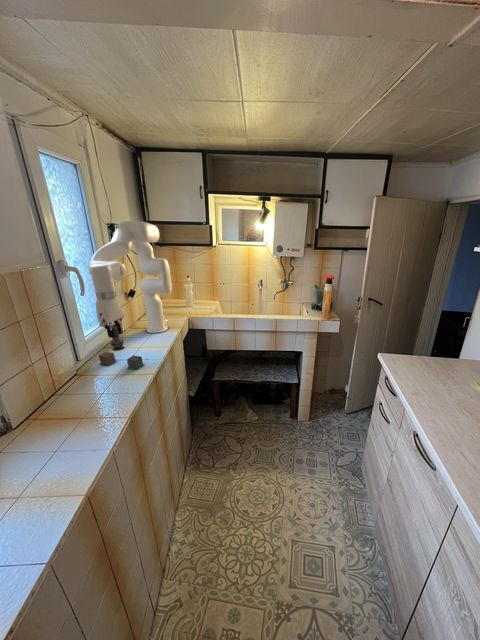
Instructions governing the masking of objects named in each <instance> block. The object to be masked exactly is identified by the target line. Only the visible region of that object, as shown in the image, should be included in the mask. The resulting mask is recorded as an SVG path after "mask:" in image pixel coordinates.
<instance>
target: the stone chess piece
mask: <svg viewBox="0 0 480 640" xmlns="http://www.w3.org/2000/svg"><path fill="white" fill-rule="evenodd" d="M112 329H114V332H115V338H111V340H110V341H109V344H110V346H111V347H112V348H111V351H113V352H119V351H122V350H125V349H126V348H125V346H124V343H125V340H124V339H123V338H121V337H120V334H119V332H118V328H117V326H115V324H114V323H112Z"/></svg>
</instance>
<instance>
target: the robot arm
mask: <svg viewBox="0 0 480 640" xmlns="http://www.w3.org/2000/svg"><path fill="white" fill-rule="evenodd" d="M159 239H160V231H159V228H158V227H157V225H155V224H154V223H153V224H152V223H149V222H145V221H141V220H140V221H138V220H135V221H134V220H126V221H125V220H124V221H121V222H119V223H118V225H117V227H116V228H115V231H114V234H113V236H112V238H111V241H110V242H108V243H106V244H104V245H103V246H101V247H100V248H98V249H97V250H96V251H95V252H94V253H93V255H92V257H91V259H90V262H89V265H88V271H89V274H90V276H91V280H92V285H93V288H94V289H93V290H94V293H95V297H96V299H95V311H96V312H95V313H96V317H97V321H98V323H99V324H98V326H99V327H102V328H104V329H105V330H106V333H107V337H108V338H111V339H112V338H115V332H114V329H112V324H114V325H115V326H117V328H118V332H119V335H122V334H123V330H122V321H123V318H124V316H125V315H124V314H123V311H122V306H121V302H120V300H119V297H118V296H117V290H116V286H115V281H117V280H123V279H124V278H125V277H126V275H127V272H128V271H127V267H126V266H125V264H124V263H123V262H120V261H113V260H117V259H121V258H123V257H126V256H127V255H129V254H130V253H131V251H132V248H133V247H134V249H135V252H136V256H137V261H138V268H139V271H140V273H141V274H142V275H144V276H146V277H143V278H142V279H140V280H139V289H140V292H141V294H142V297H143V302H144V308H145V314H146V321H147V325H148V326H147V327H146V328H145V330H146V332H147V333H151V334H159V333H163V332H166V331H167V330H168V329H169V327H168V325H167V324H166V323H168V322H169V320H168V319H167V318H165V316H164V310H163V308H164V307H163V303H162V299H161V298H160V296H159V295H163V296H165V295H170V294H171V293H172V291H173V284H172V283H173V282H172V276H171V267H170V264H169V261H168V260H167V259H166V258H164V257H155V253H154V248H153V247H152V245H151V244H150V243H157V242H158V241H159ZM147 276H148V277H147ZM149 276H150V277H149ZM153 276H154V277H153ZM155 276H159V277H155Z"/></svg>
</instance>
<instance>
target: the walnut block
mask: <svg viewBox="0 0 480 640" xmlns="http://www.w3.org/2000/svg"><path fill="white" fill-rule="evenodd" d="M98 359H99V362H100V365H104V366H111V365H112V364H113V363H115V362H116V357H115V353H114V352H110V351H104V352H102V353H100V354H99V355H98Z"/></svg>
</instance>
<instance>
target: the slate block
mask: <svg viewBox="0 0 480 640" xmlns="http://www.w3.org/2000/svg"><path fill="white" fill-rule="evenodd" d="M126 362H127V367H128V369H130V370H139V369H140V368H141V367H143V366H144V361H143V357H142V356H141V355H132V356H130V357H129V358H126Z"/></svg>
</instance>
